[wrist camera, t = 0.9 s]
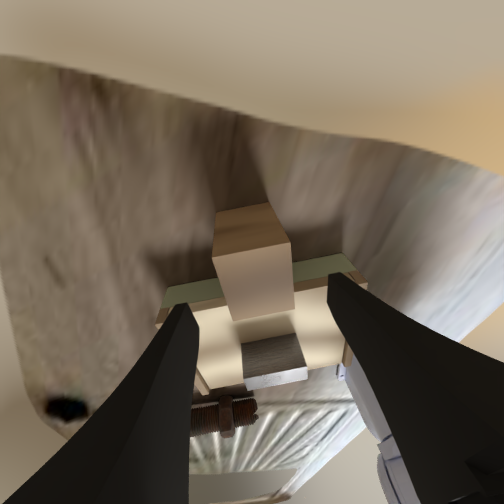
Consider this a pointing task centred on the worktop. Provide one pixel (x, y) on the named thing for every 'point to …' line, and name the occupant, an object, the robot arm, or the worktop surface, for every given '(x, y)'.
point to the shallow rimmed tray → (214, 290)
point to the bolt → (223, 417)
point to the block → (253, 261)
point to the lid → (268, 340)
